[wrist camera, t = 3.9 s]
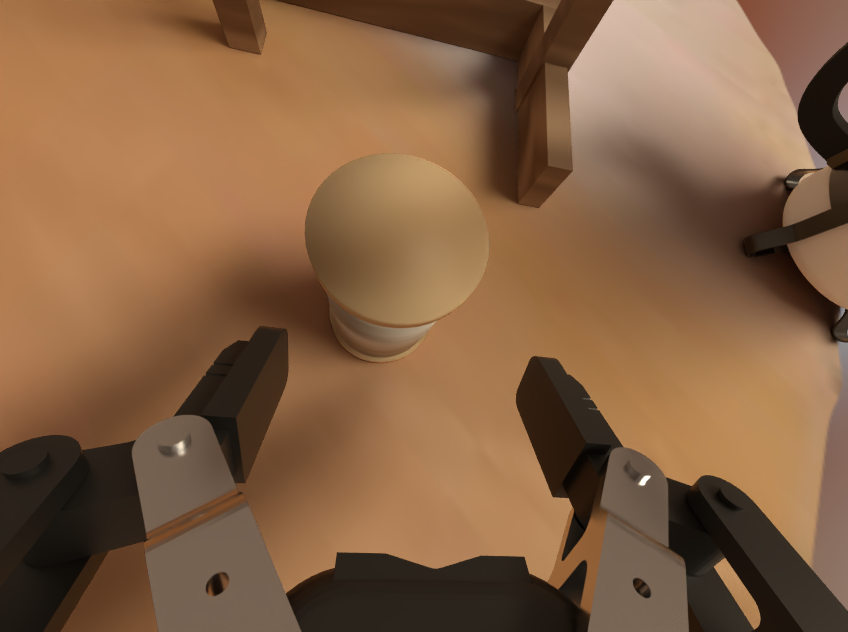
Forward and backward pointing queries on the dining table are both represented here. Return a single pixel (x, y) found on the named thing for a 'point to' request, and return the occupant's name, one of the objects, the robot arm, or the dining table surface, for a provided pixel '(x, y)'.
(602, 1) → the wooden frame rack
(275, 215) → the dining table surface
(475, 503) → the dining table surface
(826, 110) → the coffee press
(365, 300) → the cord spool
